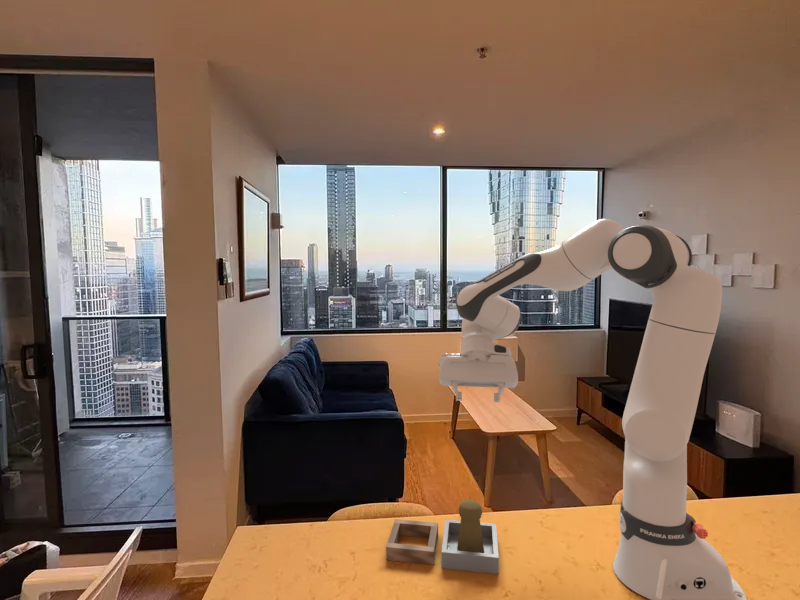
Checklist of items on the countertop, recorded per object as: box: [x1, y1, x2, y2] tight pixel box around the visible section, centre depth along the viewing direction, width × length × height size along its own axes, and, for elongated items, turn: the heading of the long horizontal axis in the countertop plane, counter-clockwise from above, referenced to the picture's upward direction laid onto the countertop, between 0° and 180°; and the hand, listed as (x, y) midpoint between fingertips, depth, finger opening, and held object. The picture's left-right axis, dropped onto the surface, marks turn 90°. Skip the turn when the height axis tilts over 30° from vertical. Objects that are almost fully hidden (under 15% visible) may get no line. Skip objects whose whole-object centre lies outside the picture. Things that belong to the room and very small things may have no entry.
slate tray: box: [440, 519, 500, 575], centre depth 95 cm, size 12×12×4 cm
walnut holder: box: [385, 518, 439, 566], centre depth 97 cm, size 11×11×3 cm
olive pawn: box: [457, 499, 484, 553], centre depth 94 cm, size 6×6×11 cm
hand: (477, 400), depth 104 cm, fingers open, 8 cm apart
